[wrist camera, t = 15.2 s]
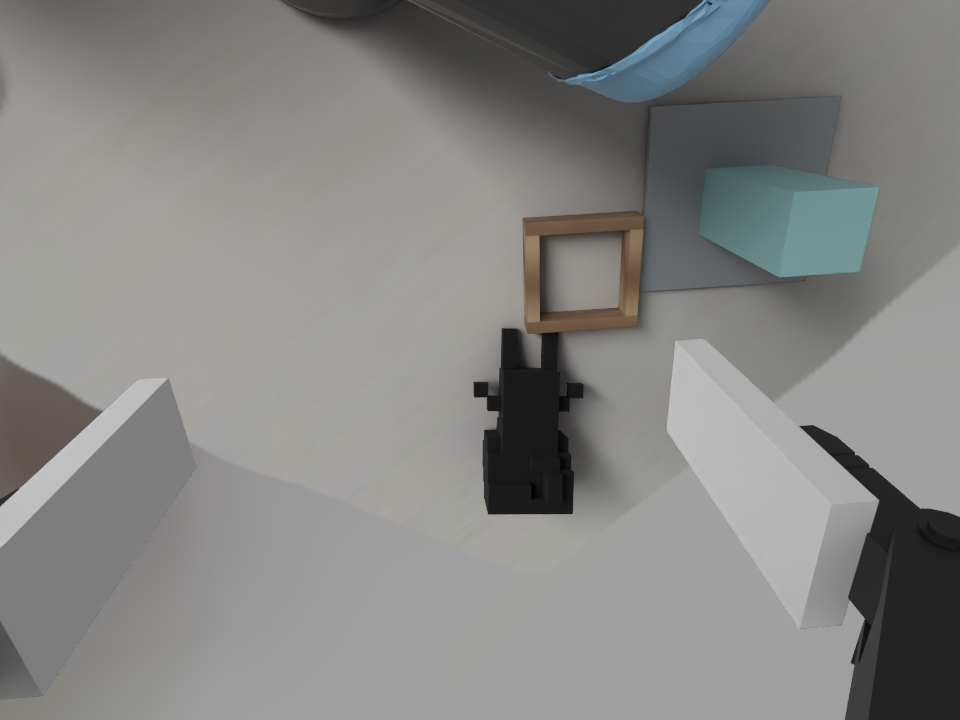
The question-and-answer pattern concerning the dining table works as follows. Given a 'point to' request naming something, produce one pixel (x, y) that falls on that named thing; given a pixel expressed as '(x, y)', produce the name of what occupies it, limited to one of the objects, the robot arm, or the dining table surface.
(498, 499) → the toy
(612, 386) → the dining table surface
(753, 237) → the block
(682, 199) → the pad
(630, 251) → the wooden square frame
